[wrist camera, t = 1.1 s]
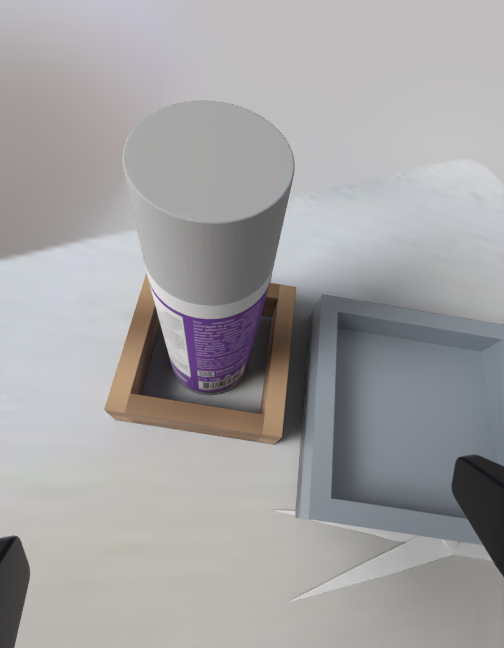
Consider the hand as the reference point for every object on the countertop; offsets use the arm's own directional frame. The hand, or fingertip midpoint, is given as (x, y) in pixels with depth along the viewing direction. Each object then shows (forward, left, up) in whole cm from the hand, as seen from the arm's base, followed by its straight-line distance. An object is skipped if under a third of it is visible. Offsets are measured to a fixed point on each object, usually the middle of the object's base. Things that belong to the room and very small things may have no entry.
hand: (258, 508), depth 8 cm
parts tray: (+6, -10, -13) cm, 18 cm away
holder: (+8, +2, -13) cm, 16 cm away
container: (+8, +2, -14) cm, 16 cm away
